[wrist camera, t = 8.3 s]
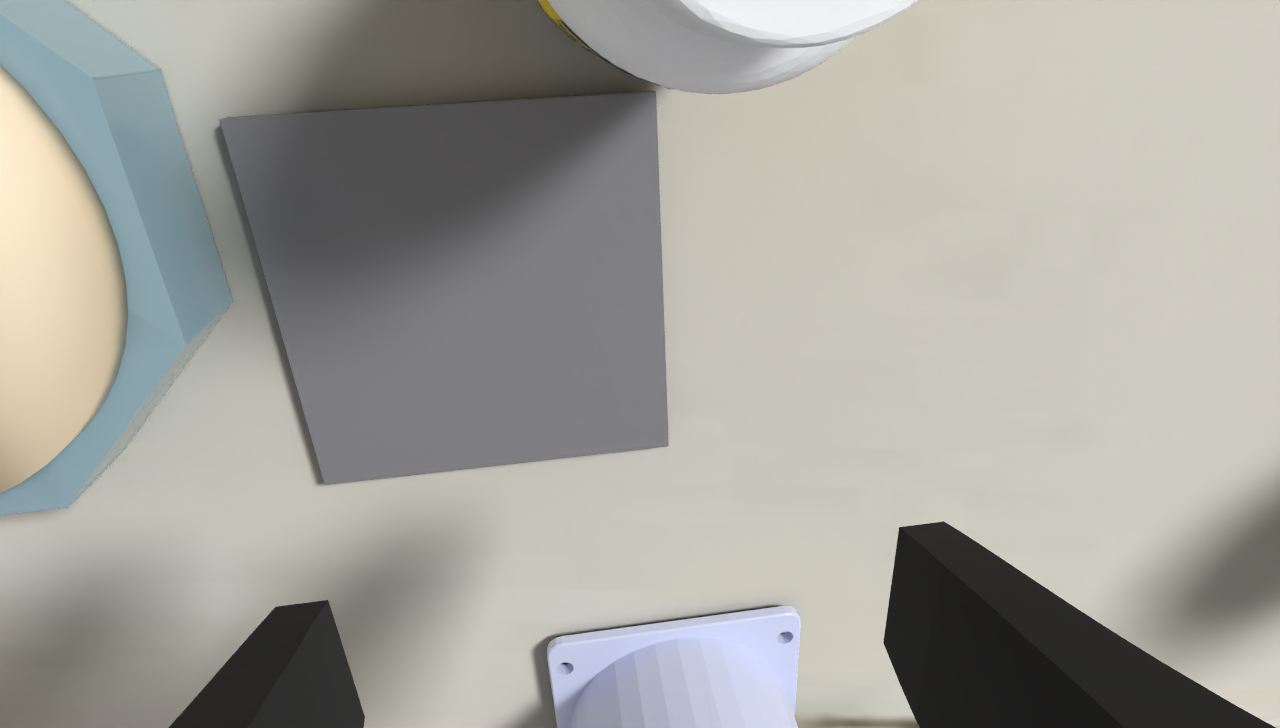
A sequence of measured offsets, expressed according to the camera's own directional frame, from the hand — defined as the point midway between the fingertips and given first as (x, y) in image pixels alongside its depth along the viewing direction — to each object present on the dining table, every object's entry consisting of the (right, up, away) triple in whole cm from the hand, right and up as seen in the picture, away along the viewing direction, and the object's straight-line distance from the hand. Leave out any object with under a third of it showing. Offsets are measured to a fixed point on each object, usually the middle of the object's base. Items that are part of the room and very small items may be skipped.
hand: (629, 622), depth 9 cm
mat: (-4, +5, +8) cm, 10 cm away
